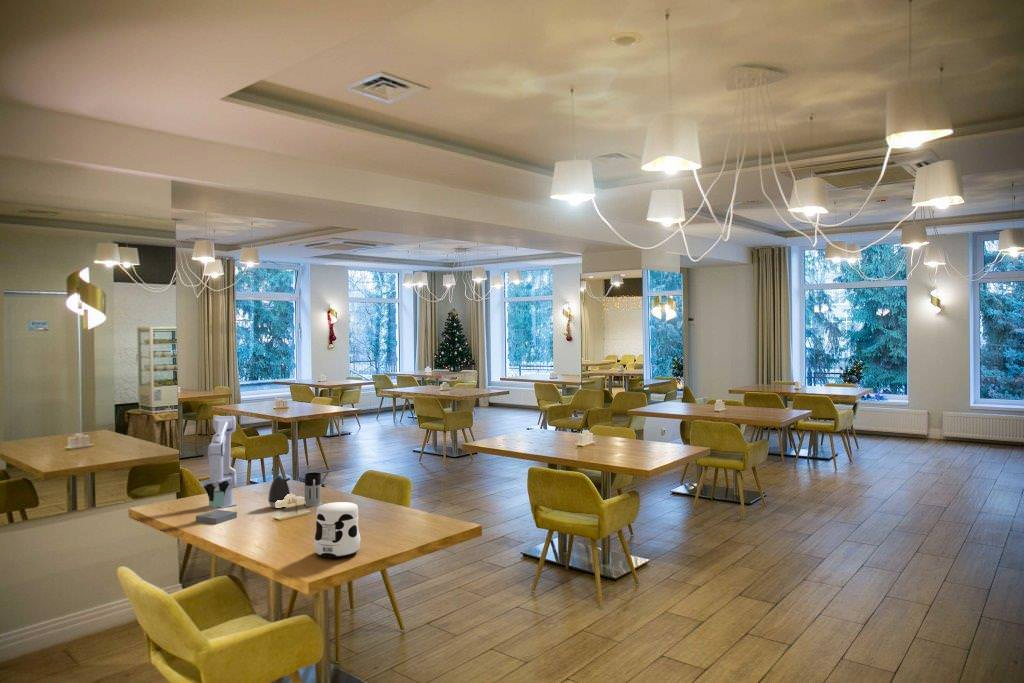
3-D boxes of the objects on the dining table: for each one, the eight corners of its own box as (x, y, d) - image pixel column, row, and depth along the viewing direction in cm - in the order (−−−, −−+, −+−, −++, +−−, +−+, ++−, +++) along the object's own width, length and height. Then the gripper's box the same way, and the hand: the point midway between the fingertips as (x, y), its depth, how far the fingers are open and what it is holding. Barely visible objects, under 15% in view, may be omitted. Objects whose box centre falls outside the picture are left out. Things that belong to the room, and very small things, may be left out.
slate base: (195, 521, 306) (195, 515, 306) (216, 514, 317) (216, 509, 317) (216, 524, 301) (216, 518, 301) (236, 517, 312) (236, 511, 312)
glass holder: (321, 501, 342) (321, 471, 342) (323, 508, 329) (323, 477, 329) (303, 502, 339) (303, 472, 339) (304, 509, 326) (304, 478, 326)
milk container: (353, 544, 273) (353, 499, 273) (366, 557, 258) (366, 509, 258) (309, 550, 265) (309, 504, 265) (319, 564, 250) (319, 515, 249)
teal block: (208, 505, 309) (209, 492, 309) (218, 503, 312) (218, 490, 312) (214, 506, 306) (214, 493, 306) (223, 505, 309) (223, 491, 309)
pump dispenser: (286, 510, 325) (286, 478, 325) (265, 510, 326) (264, 478, 325) (294, 504, 336) (293, 473, 335) (272, 504, 336) (272, 473, 336)
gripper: (205, 473, 301) (205, 504, 301) (236, 468, 312) (236, 497, 312) (197, 471, 305) (197, 501, 305) (227, 466, 316) (227, 495, 317)
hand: (216, 499), depth 309 cm, fingers closed on teal block, 4 cm apart
